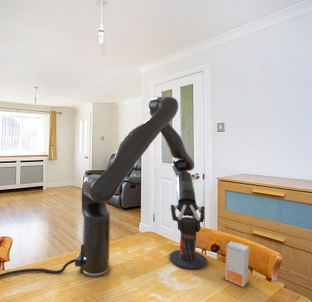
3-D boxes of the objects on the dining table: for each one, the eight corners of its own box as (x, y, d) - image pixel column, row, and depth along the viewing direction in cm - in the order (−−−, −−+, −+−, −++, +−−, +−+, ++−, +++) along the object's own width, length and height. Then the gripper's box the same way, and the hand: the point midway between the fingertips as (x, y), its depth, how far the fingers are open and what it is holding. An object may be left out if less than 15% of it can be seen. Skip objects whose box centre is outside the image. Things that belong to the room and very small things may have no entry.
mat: (171, 268, 81) (171, 266, 81) (168, 250, 95) (168, 248, 95) (210, 271, 80) (211, 268, 80) (201, 252, 94) (202, 250, 94)
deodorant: (195, 262, 84) (197, 223, 84) (179, 260, 86) (181, 221, 85) (194, 254, 90) (196, 218, 90) (179, 252, 91) (181, 216, 91)
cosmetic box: (224, 279, 75) (226, 244, 75) (229, 274, 78) (230, 240, 78) (243, 287, 71) (245, 250, 71) (248, 282, 74) (249, 246, 74)
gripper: (169, 187, 95) (171, 225, 83) (204, 189, 94) (210, 227, 83) (168, 197, 101) (169, 234, 89) (201, 199, 100) (206, 236, 88)
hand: (189, 230), depth 86 cm, fingers closed on deodorant, 6 cm apart
